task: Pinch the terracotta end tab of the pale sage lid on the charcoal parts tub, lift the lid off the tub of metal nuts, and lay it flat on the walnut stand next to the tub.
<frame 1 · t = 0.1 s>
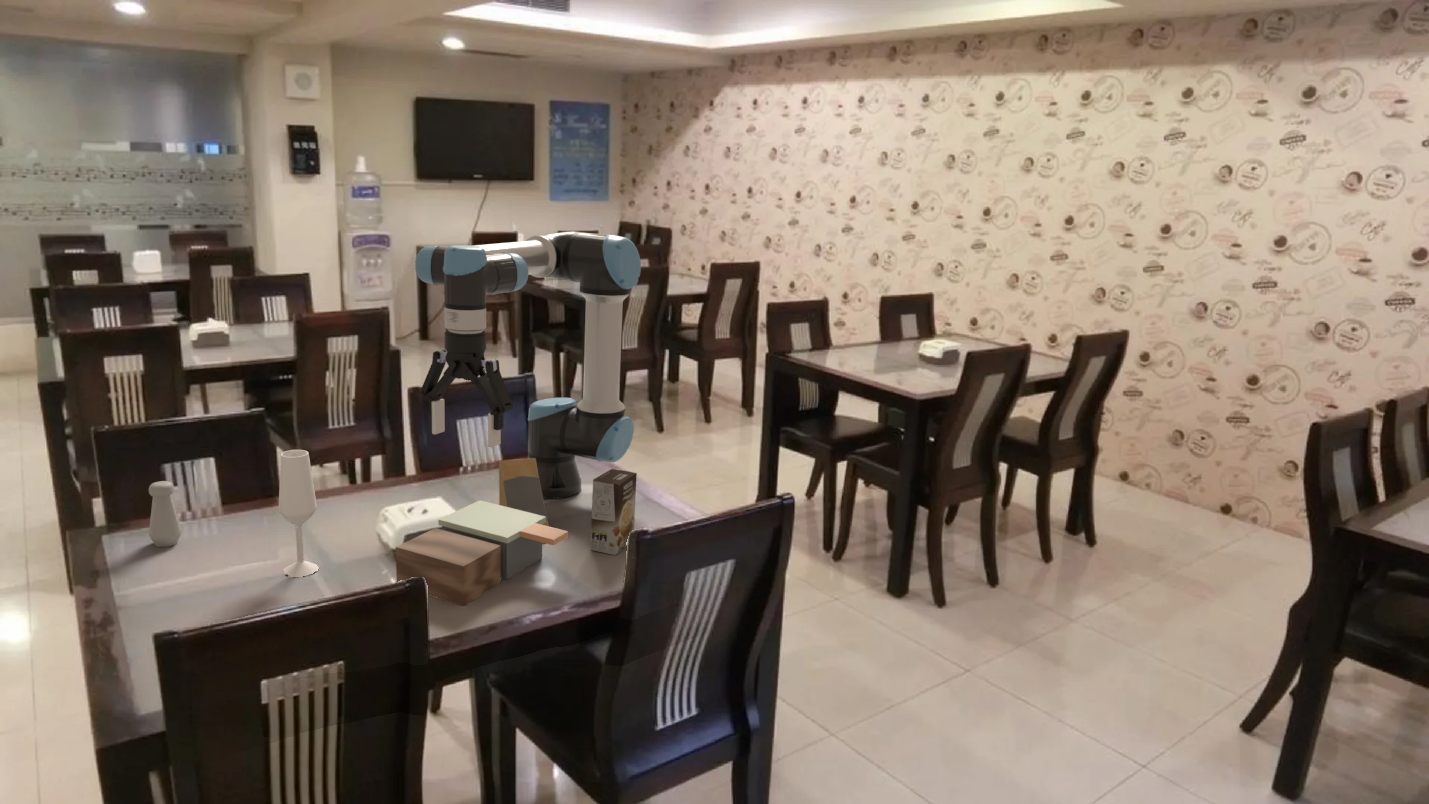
hand: (465, 439, 175), 28 cm above the table, tool pointing down, fingers open, 13 cm apart
champagne flute: (301, 571, 179), on the table
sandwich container: (525, 533, 204), on the table
tub: (492, 559, 189), on the table
lid: (493, 523, 187), point 8 cm above the table, touching tub
coffee box: (612, 546, 200), on the table
salt shaker: (166, 543, 187), on the table
stand: (449, 584, 177), on the table
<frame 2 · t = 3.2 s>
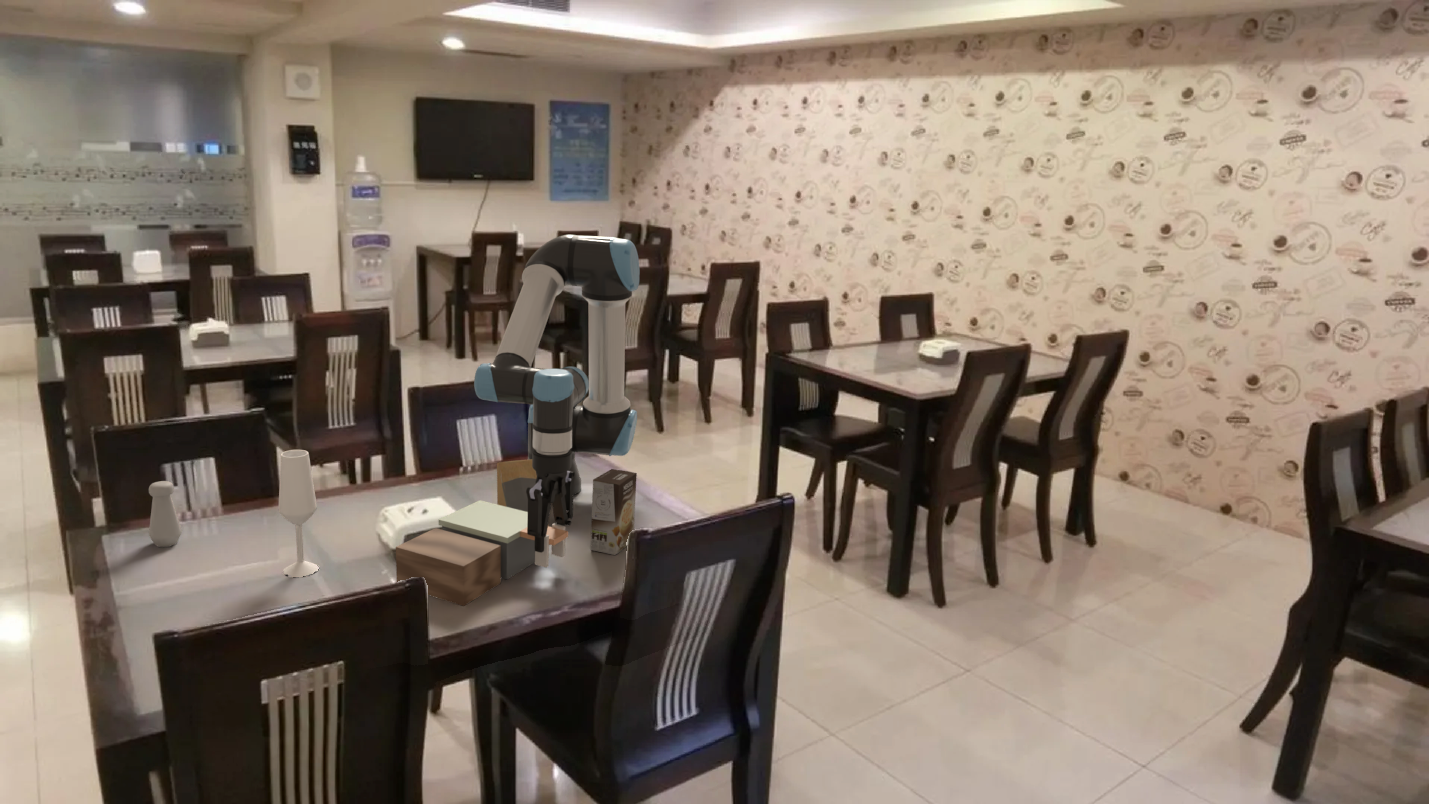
hand: (550, 559, 183), 3 cm above the table, tool pointing down, fingers closed on lid, 5 cm apart
lid: (493, 523, 187), point 8 cm above the table, touching gripper, tub
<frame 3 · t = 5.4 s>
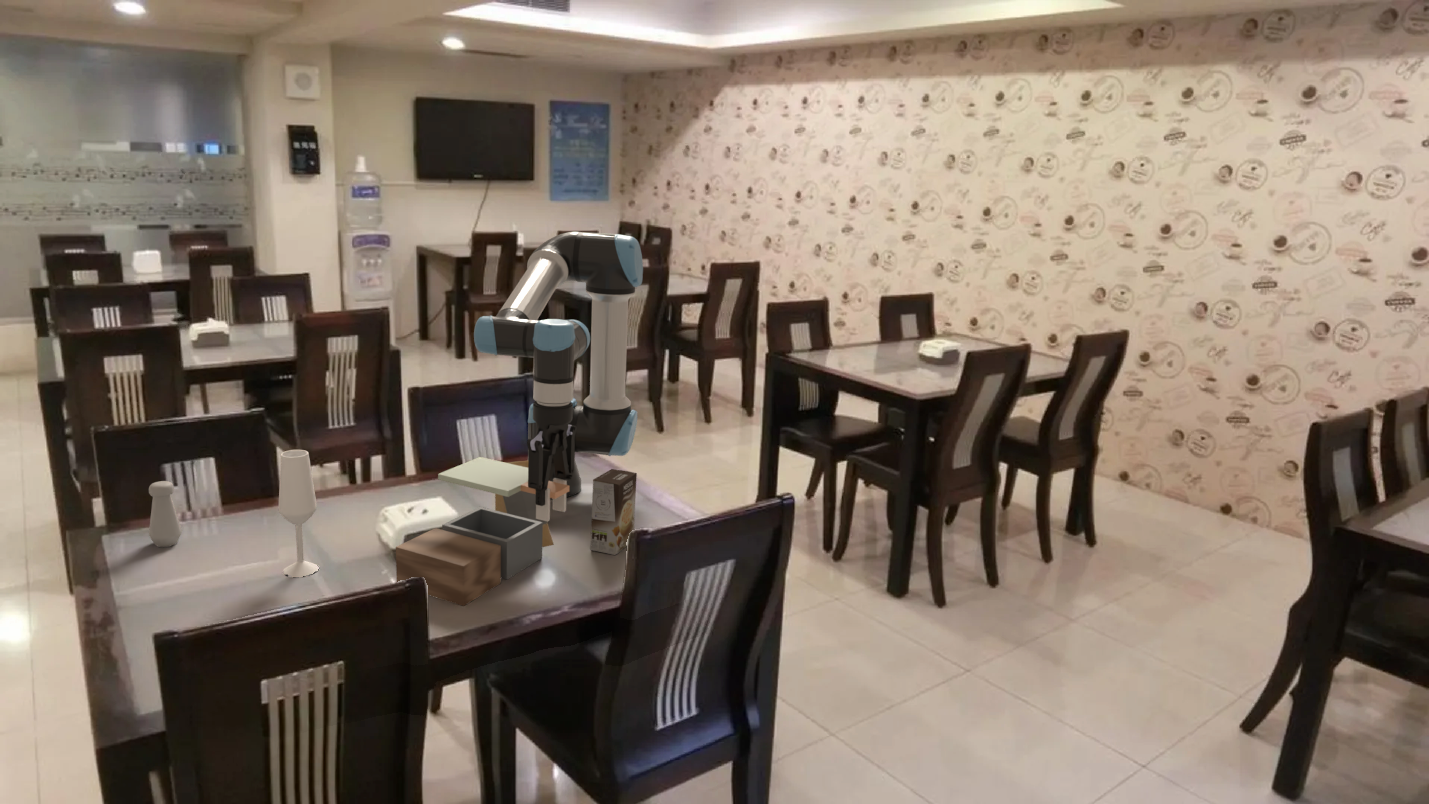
hand: (551, 514, 180), 13 cm above the table, tool pointing down, fingers closed on lid, 5 cm apart
lid: (493, 478, 185), point 18 cm above the table, touching gripper
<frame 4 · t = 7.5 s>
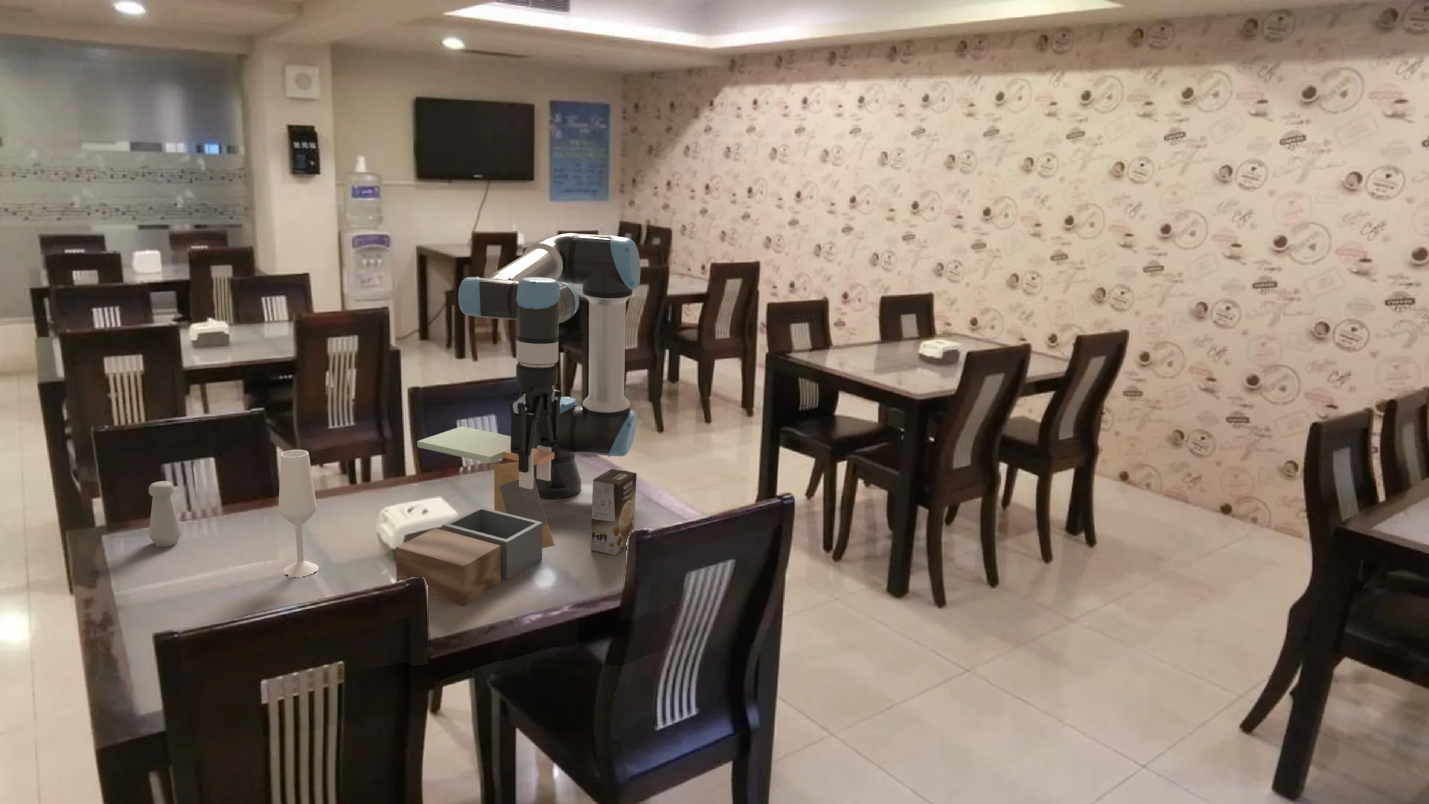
hand: (534, 483, 173), 21 cm above the table, tool pointing down, fingers closed on lid, 5 cm apart
lid: (475, 446, 177), point 26 cm above the table, touching gripper
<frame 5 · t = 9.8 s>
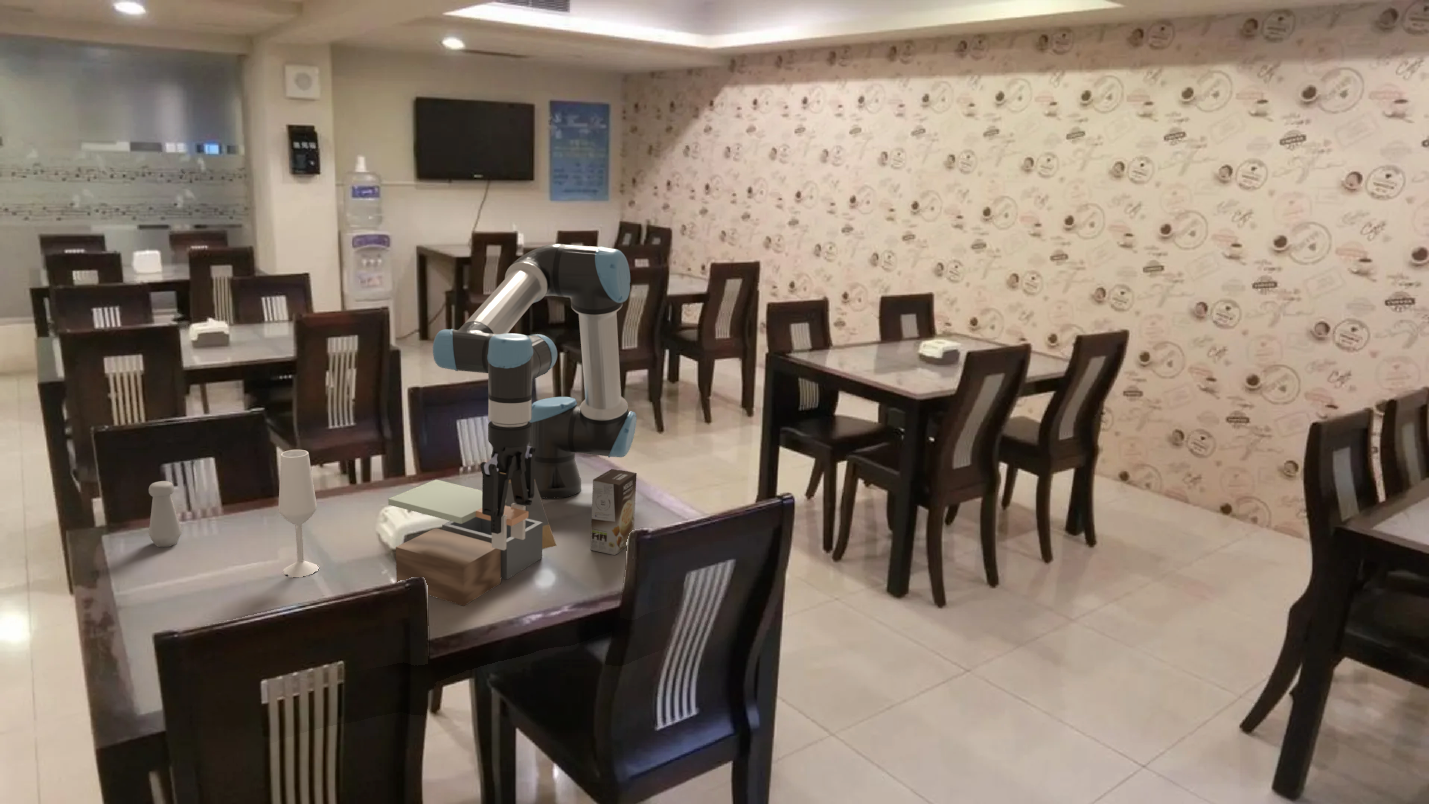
hand: (508, 542, 168), 12 cm above the table, tool pointing down, fingers closed on lid, 5 cm apart
lid: (448, 503, 173), point 17 cm above the table, touching gripper
when the fingers open (5 cm above the table, at t = 11.8 s): lid drops 2 cm, resting on stand.
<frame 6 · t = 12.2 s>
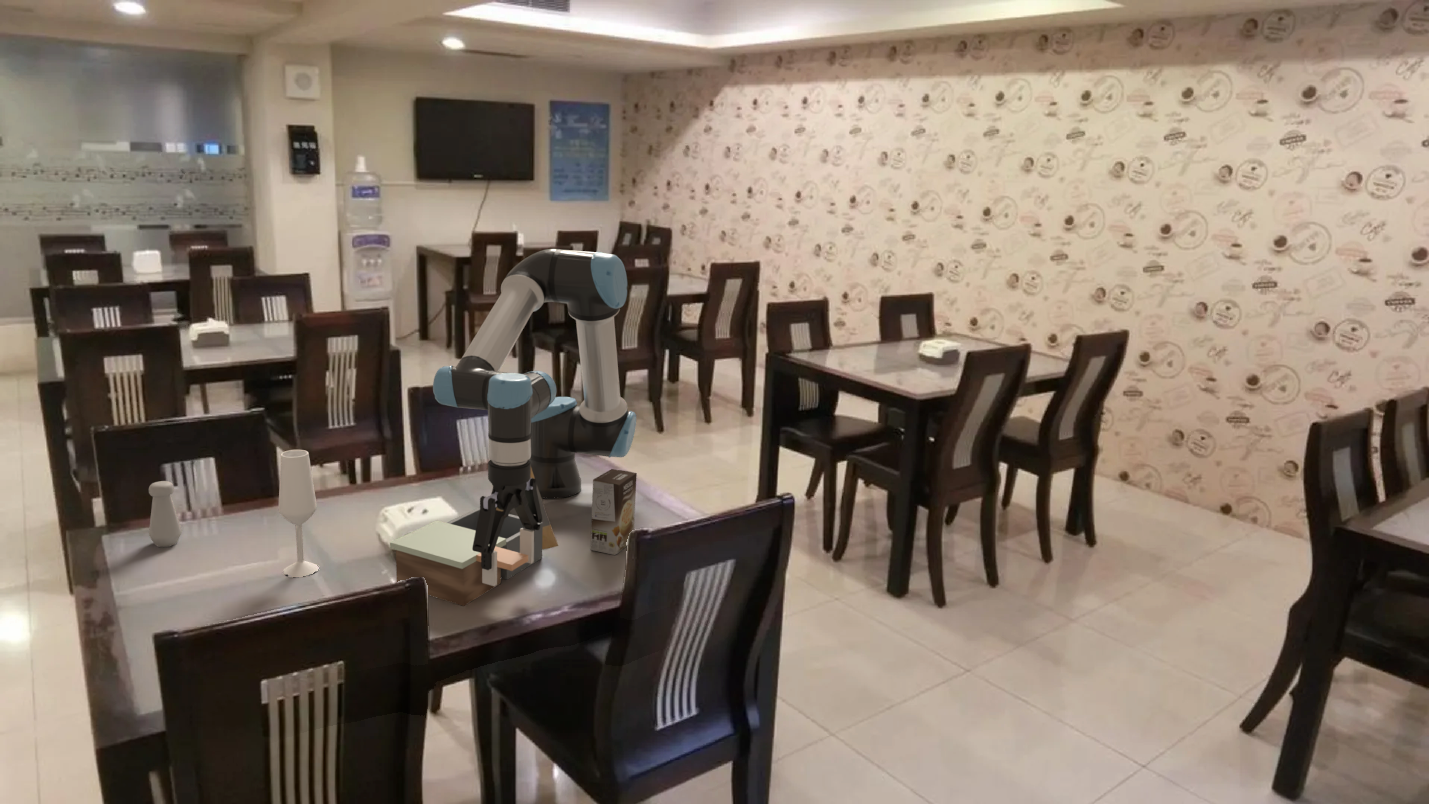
hand: (508, 572, 170), 6 cm above the table, tool pointing down, fingers open, 10 cm apart
lid: (449, 546, 175), point 8 cm above the table, touching stand
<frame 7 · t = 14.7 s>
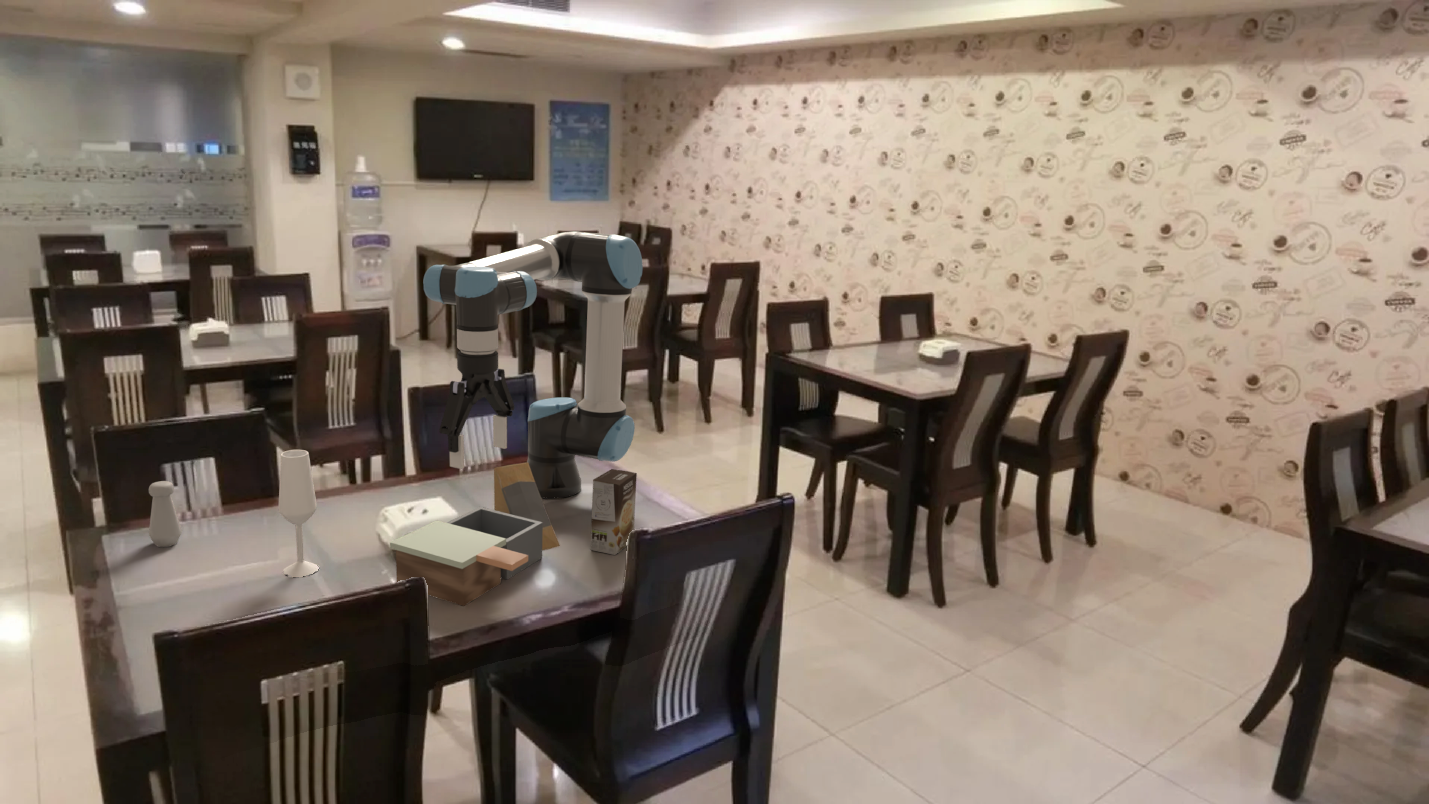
hand: (479, 457, 177), 24 cm above the table, tool pointing down, fingers open, 13 cm apart
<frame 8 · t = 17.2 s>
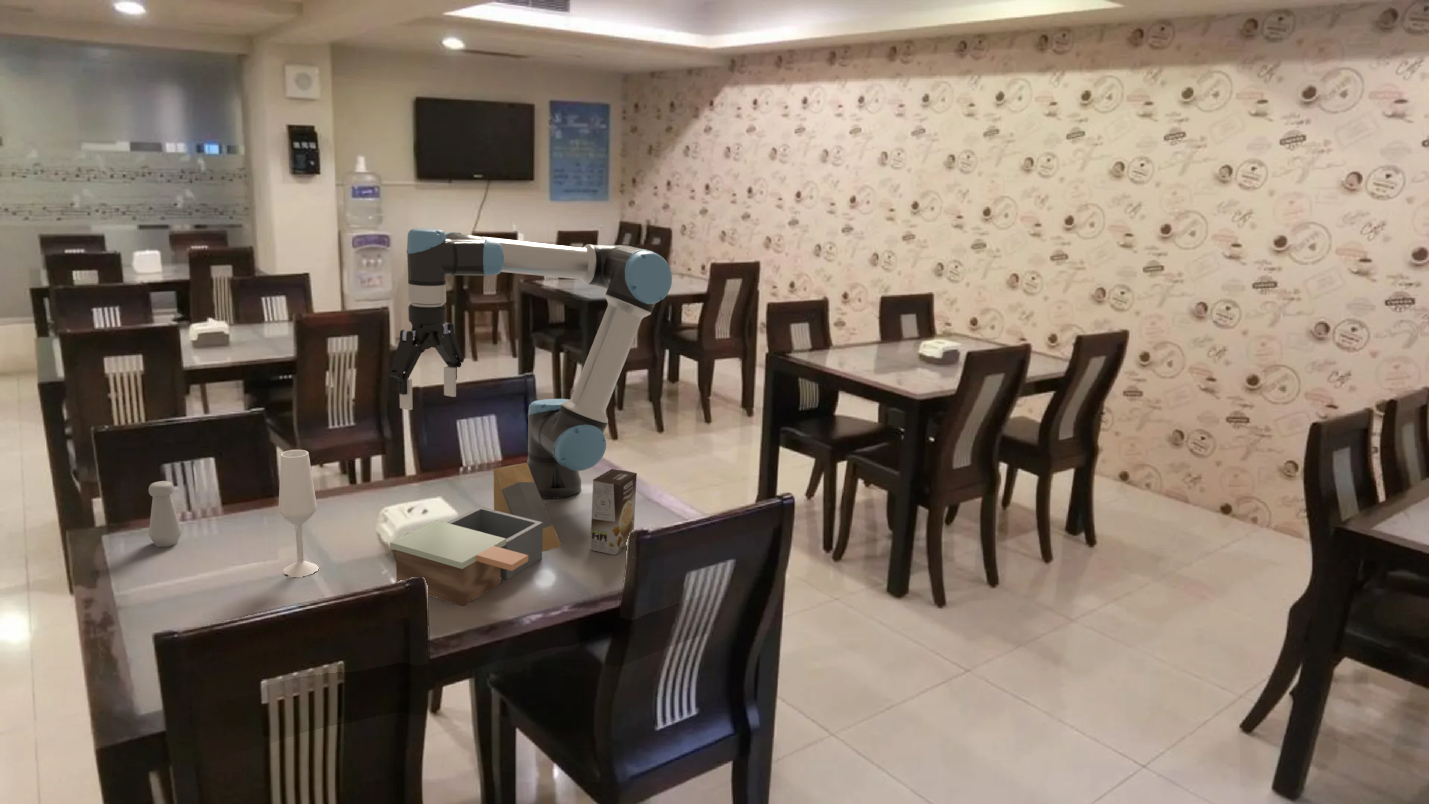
hand: (428, 402, 196), 29 cm above the table, tool pointing down, fingers open, 13 cm apart
at the end: lid inside the target area on the stand (0.0 cm from its centre), point 8.0 cm above the stand's base; lid tilted 0°; the gripper is holding nothing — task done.
